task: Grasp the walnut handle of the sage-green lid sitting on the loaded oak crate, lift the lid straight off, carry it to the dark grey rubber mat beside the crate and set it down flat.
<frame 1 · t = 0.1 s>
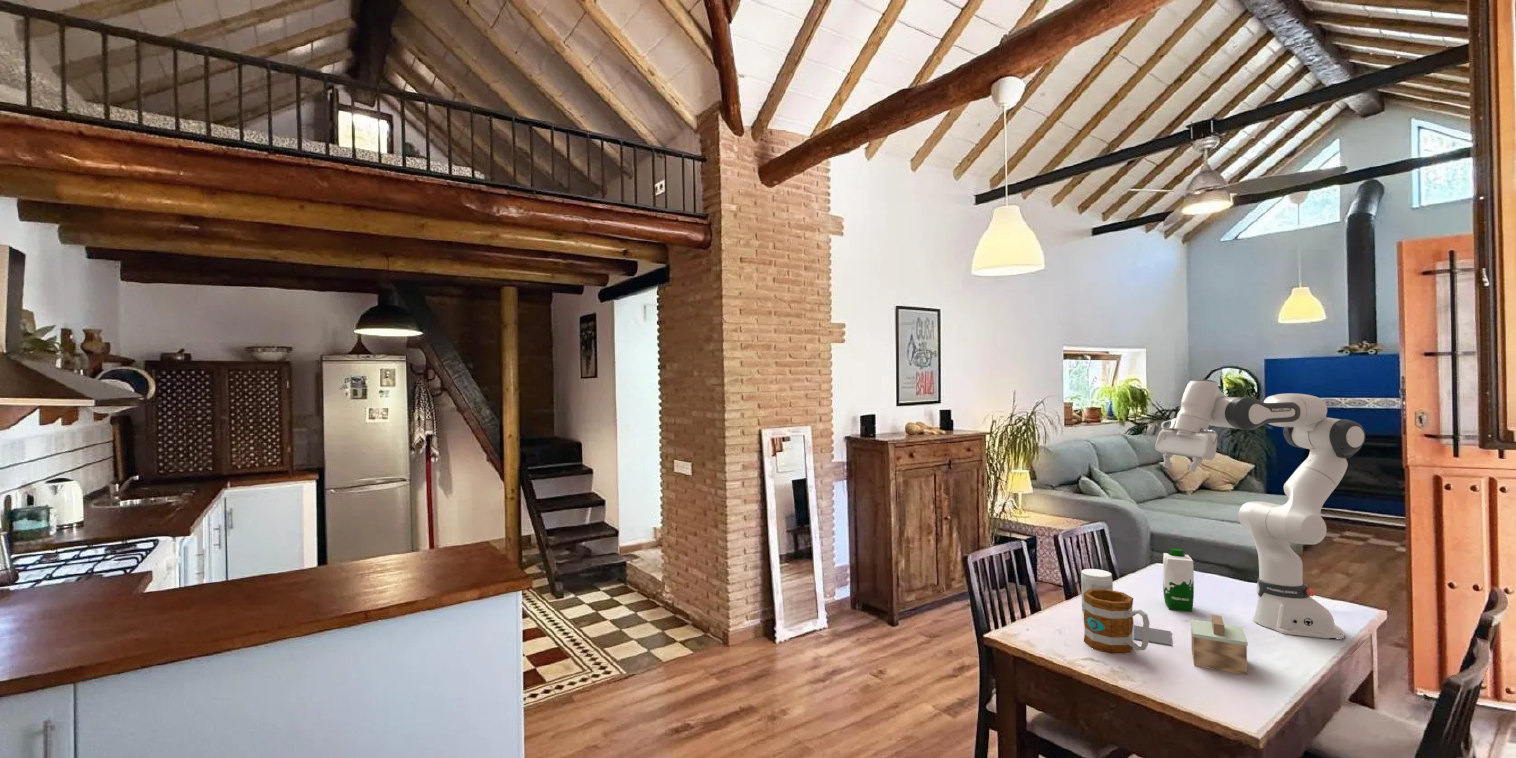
hand: (1178, 469, 206), 52 cm above the table, tool tilted 20°, fingers open, 8 cm apart
supplement tub: (1097, 616, 222), on the table
crate: (1218, 661, 185), on the table
milk carton: (1178, 608, 228), on the table
mat: (1152, 635, 204), on the table
mug: (1117, 649, 195), on the table
lid: (1217, 633, 185), point 8 cm above the table, touching crate
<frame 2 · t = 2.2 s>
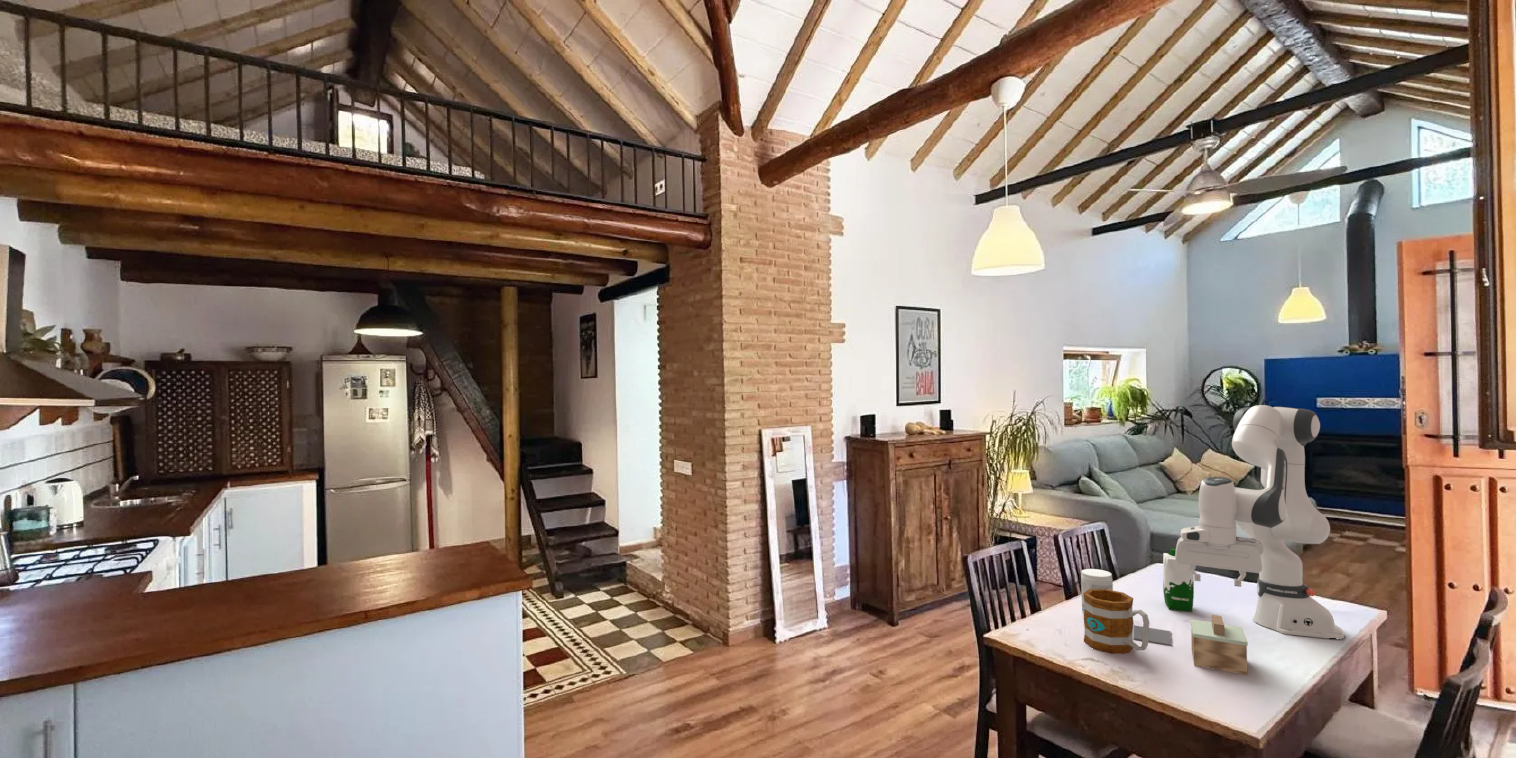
hand: (1217, 583, 185), 22 cm above the table, tool pointing down, fingers open, 8 cm apart
nothing on the table moved.
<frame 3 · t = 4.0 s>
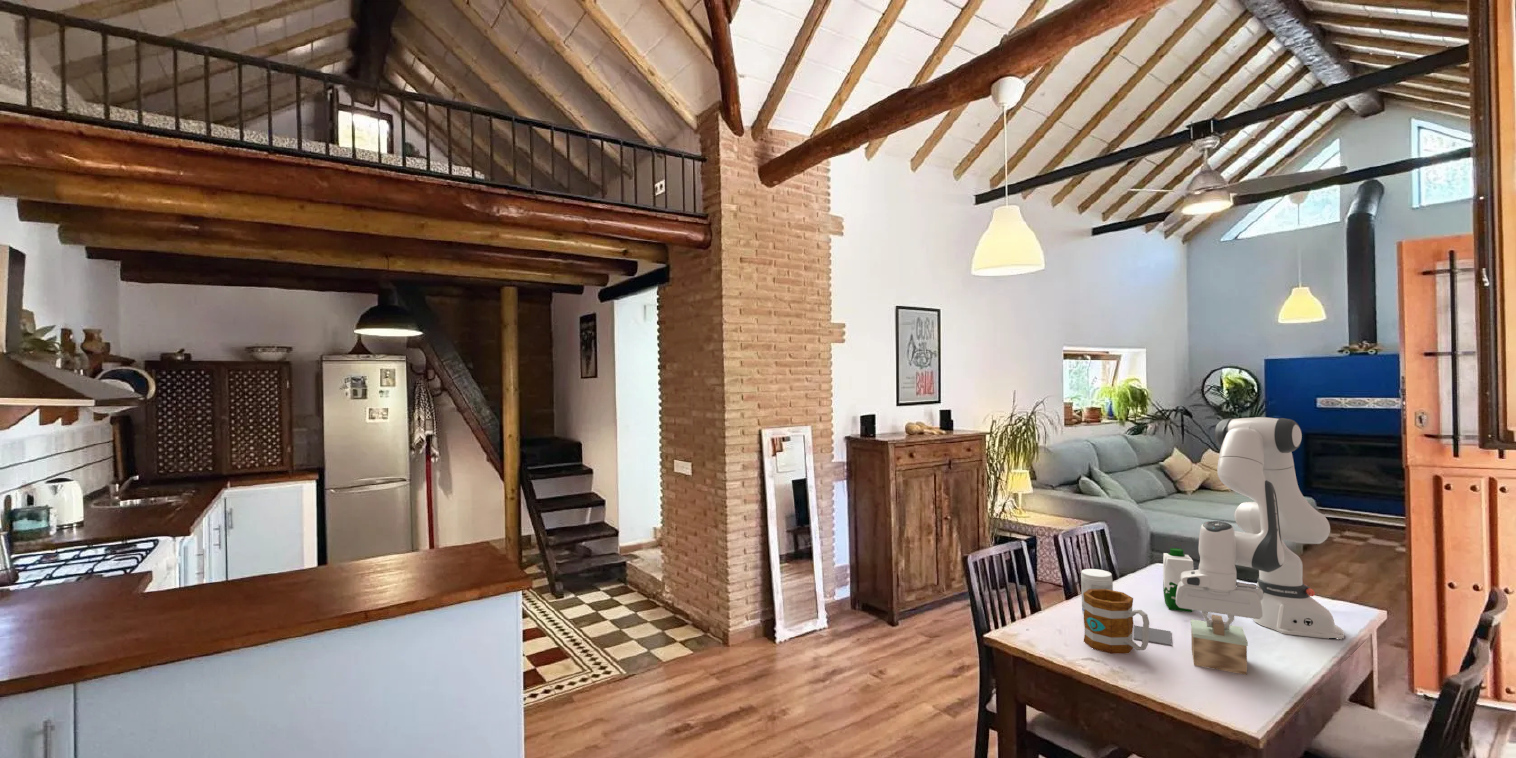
hand: (1217, 628, 185), 10 cm above the table, tool pointing down, fingers closed on lid, 2 cm apart
lid: (1217, 633, 185), point 8 cm above the table, touching crate, gripper
everything else where it was.
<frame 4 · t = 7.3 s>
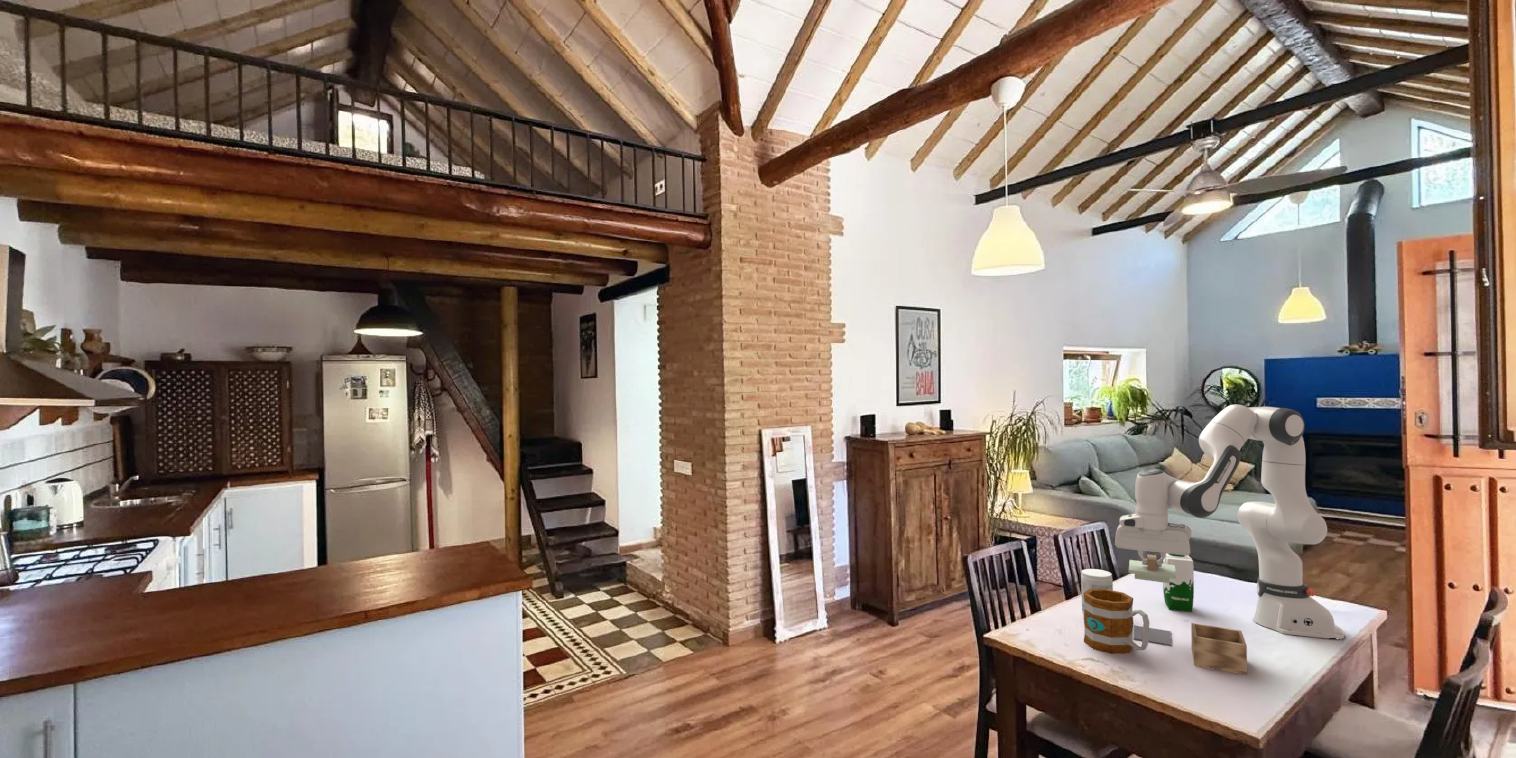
hand: (1151, 565, 204), 22 cm above the table, tool pointing down, fingers closed on lid, 2 cm apart
lid: (1151, 570, 204), point 21 cm above the table, touching gripper
everything else where it was.
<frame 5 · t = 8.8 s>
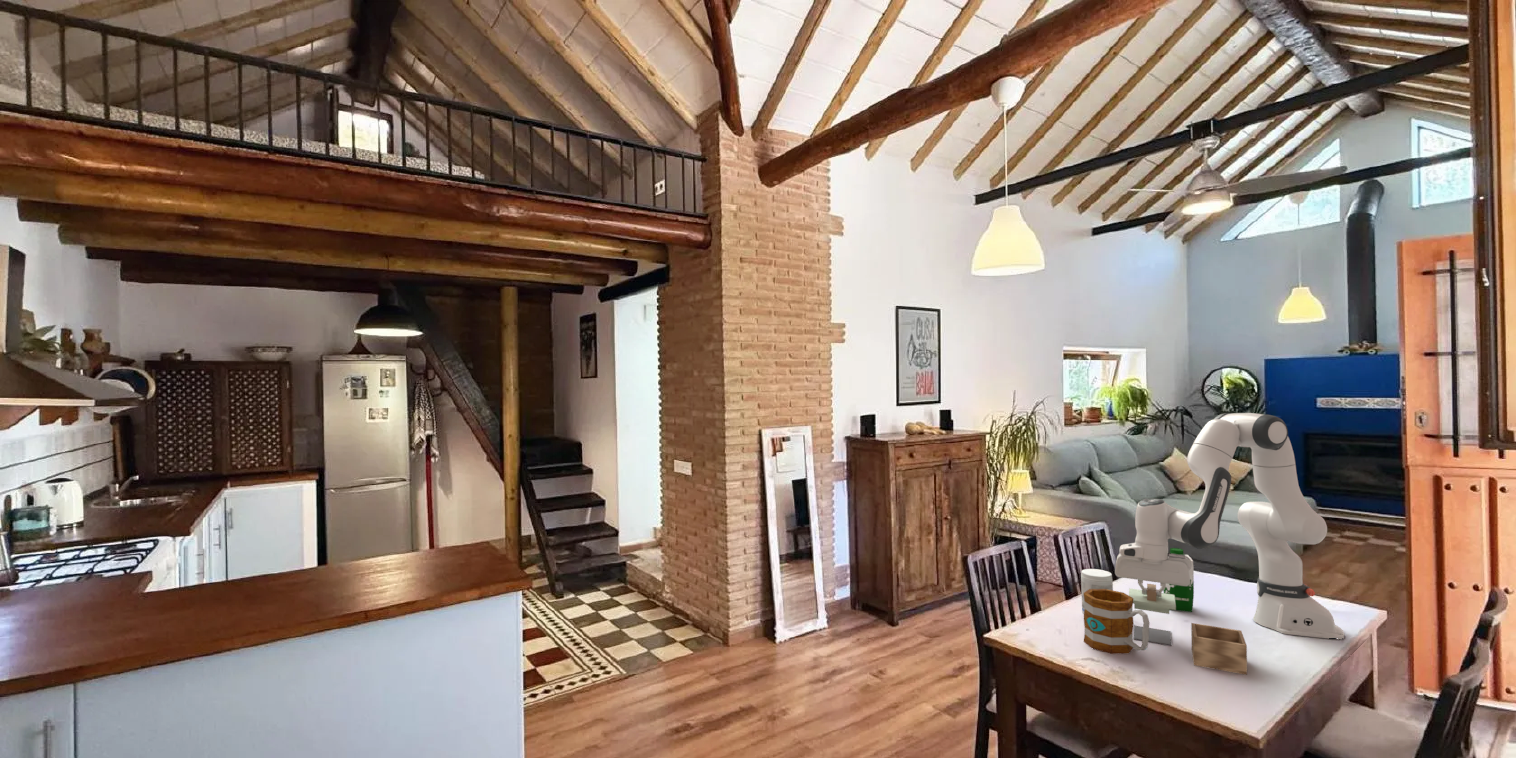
hand: (1151, 595, 204), 13 cm above the table, tool pointing down, fingers closed on lid, 2 cm apart
lid: (1151, 600, 204), point 11 cm above the table, touching gripper
everything else where it was.
when the fingers open (6 cm above the table, at t = 10.4 s): lid drops 2 cm, resting on mat.
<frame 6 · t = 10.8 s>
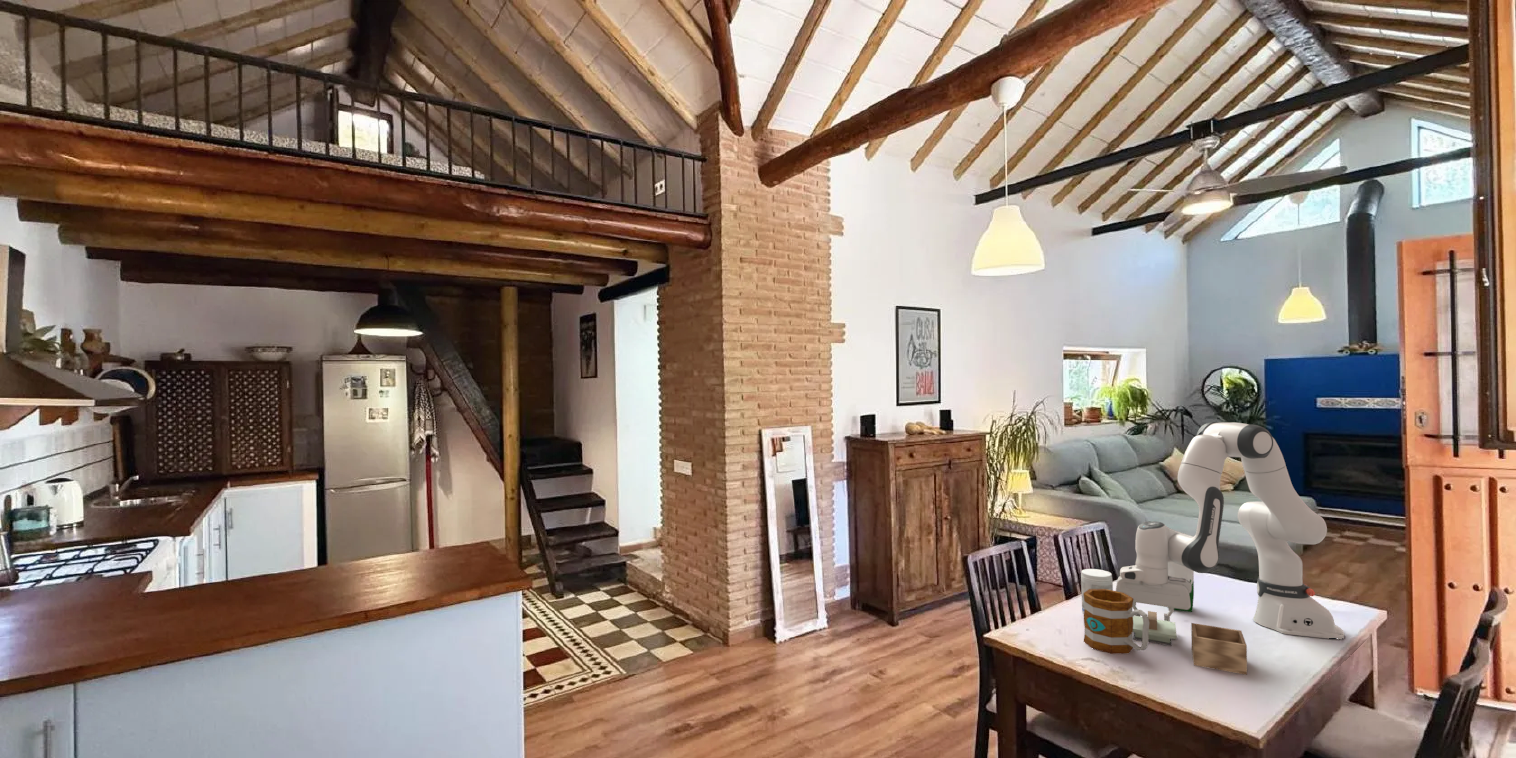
hand: (1152, 618, 204), 6 cm above the table, tool pointing down, fingers open, 6 cm apart
lid: (1152, 628, 204), point 2 cm above the table, touching mat
everything else where it was.
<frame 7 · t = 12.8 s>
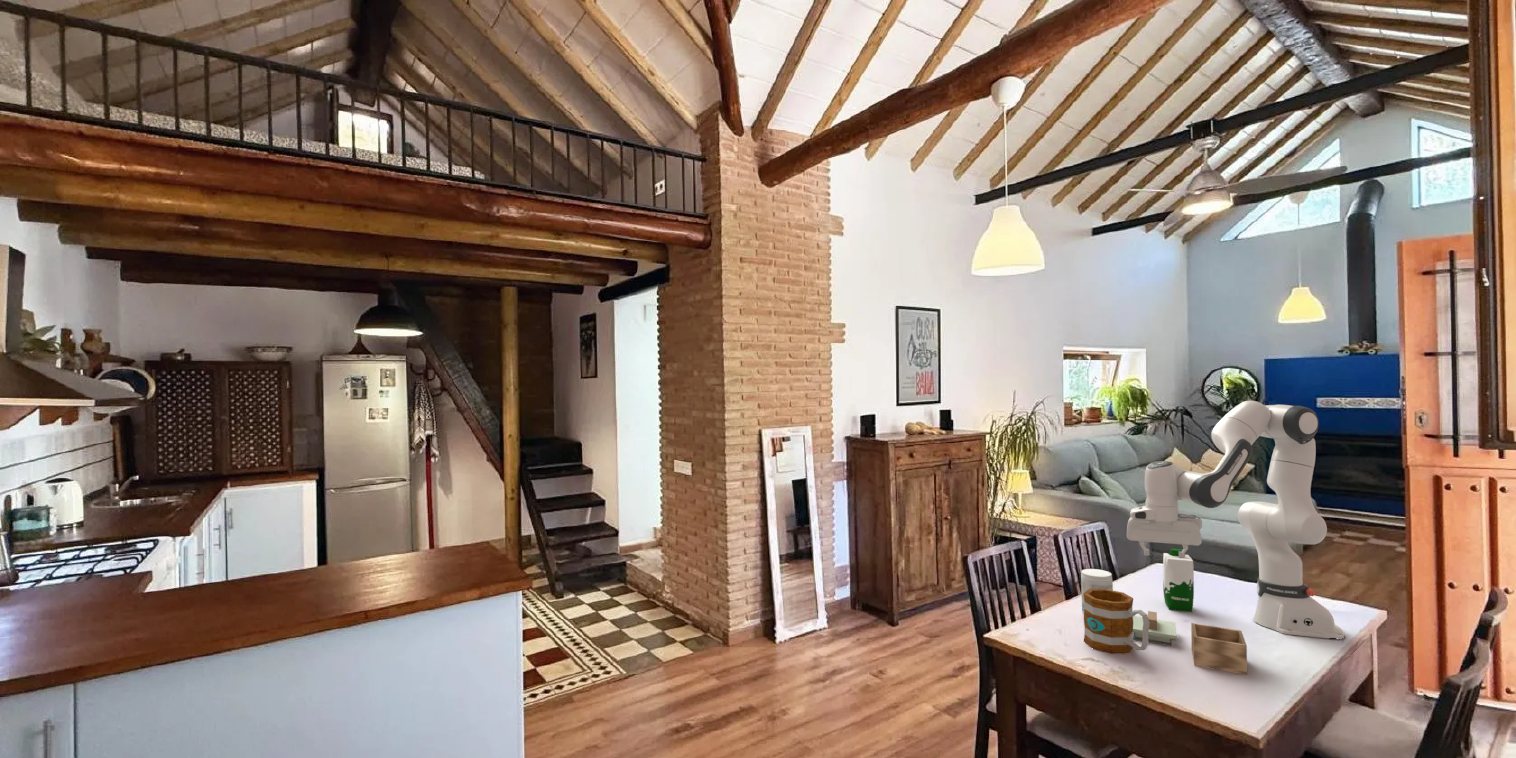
hand: (1163, 556, 206), 24 cm above the table, tool pointing down, fingers open, 8 cm apart
nothing on the table moved.
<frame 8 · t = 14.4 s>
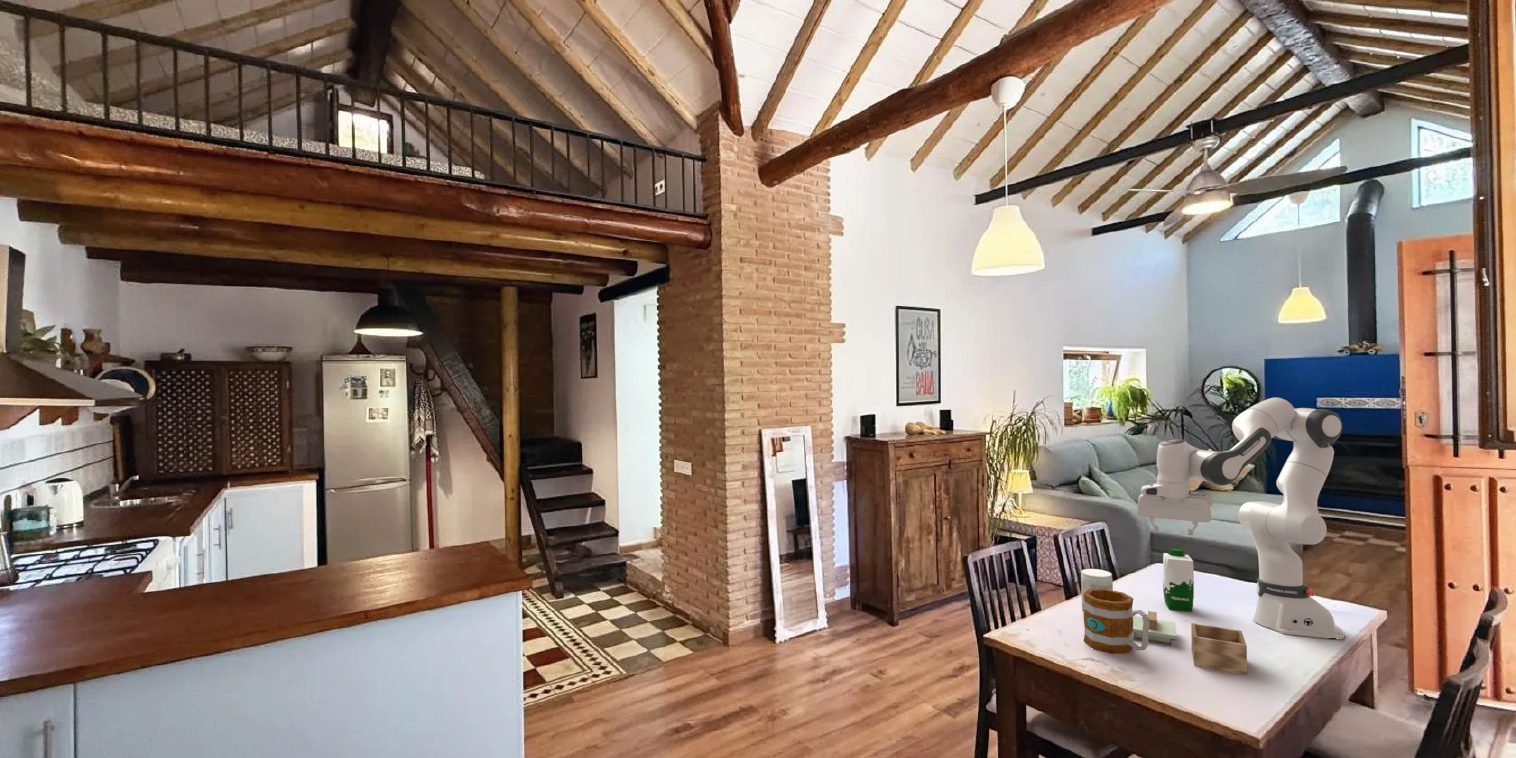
hand: (1173, 533, 208), 31 cm above the table, tool pointing down, fingers open, 8 cm apart
nothing on the table moved.
at the end: lid inside the target area on the mat (0.1 cm from its centre), point 2.4 cm above the mat's base; lid tilted 0°; lid touching mat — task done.
